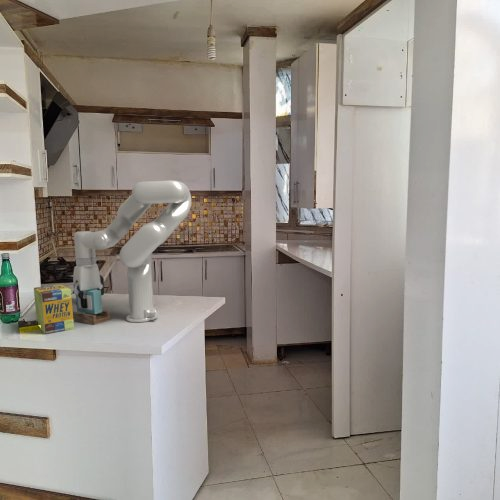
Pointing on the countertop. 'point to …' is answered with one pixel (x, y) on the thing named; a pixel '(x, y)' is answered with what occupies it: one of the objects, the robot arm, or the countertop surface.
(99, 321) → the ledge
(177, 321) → the countertop surface
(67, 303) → the protein box
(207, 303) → the countertop surface
